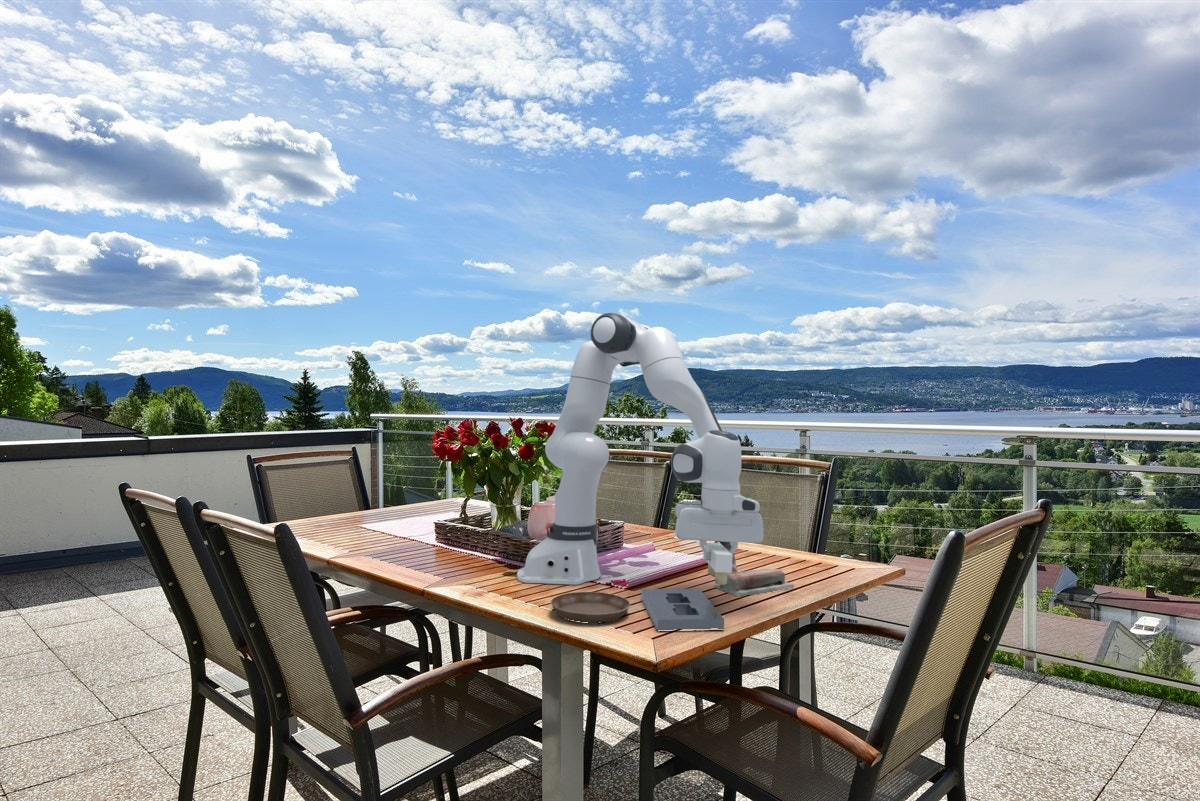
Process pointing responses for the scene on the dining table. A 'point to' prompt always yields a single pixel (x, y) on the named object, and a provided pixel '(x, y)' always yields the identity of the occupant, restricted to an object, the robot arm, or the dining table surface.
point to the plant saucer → (590, 606)
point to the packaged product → (755, 582)
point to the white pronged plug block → (719, 562)
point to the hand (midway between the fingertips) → (717, 560)
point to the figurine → (734, 567)
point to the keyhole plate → (681, 609)
